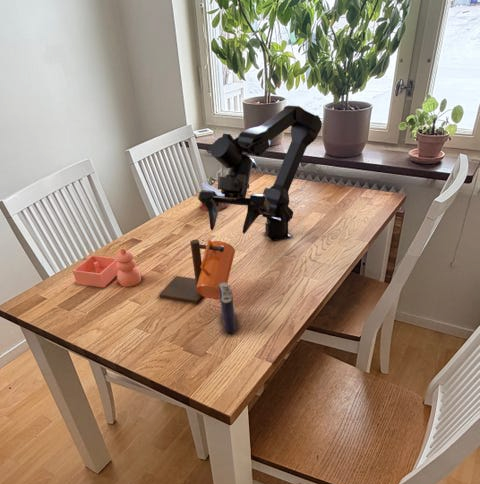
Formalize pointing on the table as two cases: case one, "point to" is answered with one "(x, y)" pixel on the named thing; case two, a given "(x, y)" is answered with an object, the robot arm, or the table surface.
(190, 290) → the hook stand
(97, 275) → the pottery
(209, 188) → the canned food
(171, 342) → the table surface
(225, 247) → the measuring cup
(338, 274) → the table surface
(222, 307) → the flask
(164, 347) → the table surface
